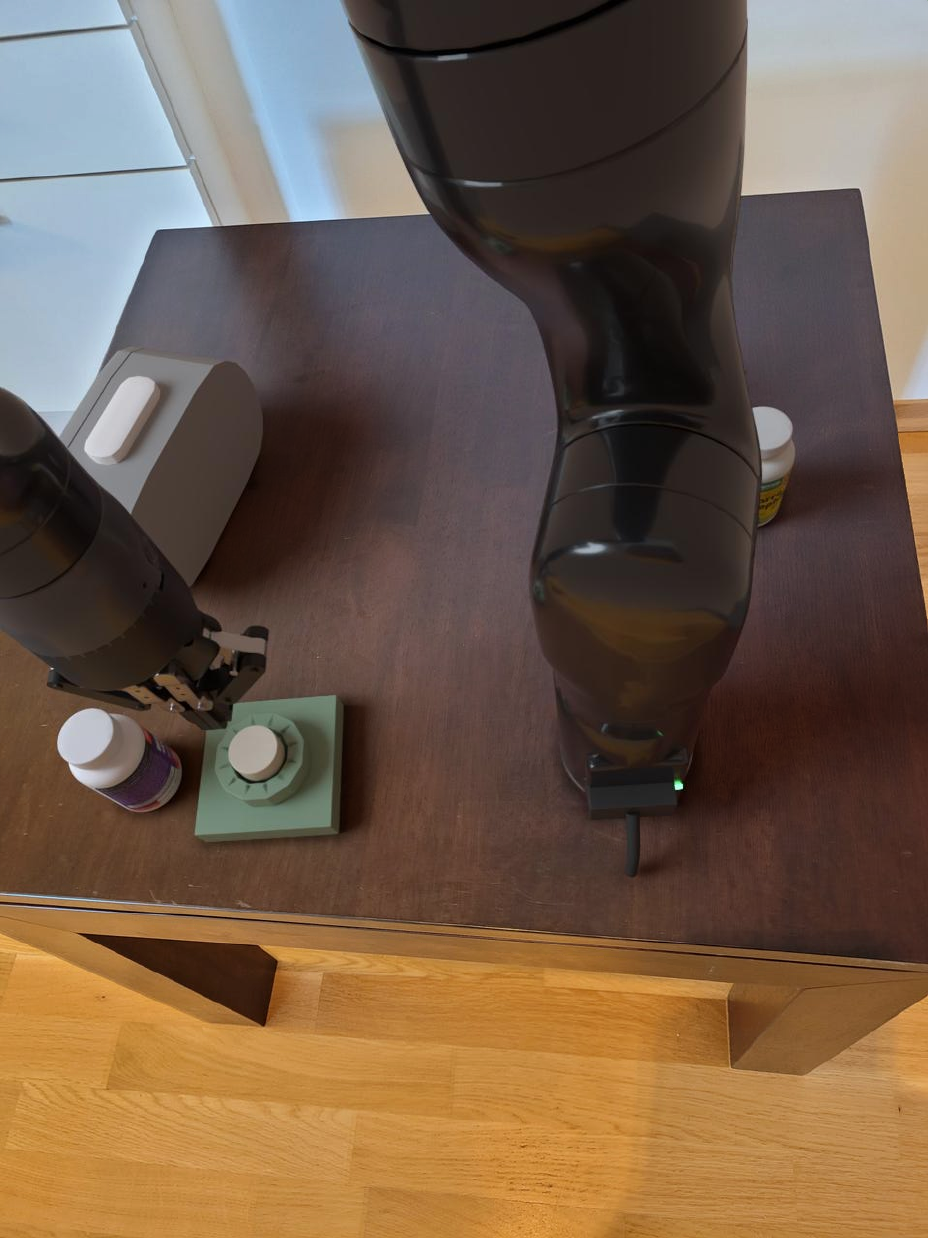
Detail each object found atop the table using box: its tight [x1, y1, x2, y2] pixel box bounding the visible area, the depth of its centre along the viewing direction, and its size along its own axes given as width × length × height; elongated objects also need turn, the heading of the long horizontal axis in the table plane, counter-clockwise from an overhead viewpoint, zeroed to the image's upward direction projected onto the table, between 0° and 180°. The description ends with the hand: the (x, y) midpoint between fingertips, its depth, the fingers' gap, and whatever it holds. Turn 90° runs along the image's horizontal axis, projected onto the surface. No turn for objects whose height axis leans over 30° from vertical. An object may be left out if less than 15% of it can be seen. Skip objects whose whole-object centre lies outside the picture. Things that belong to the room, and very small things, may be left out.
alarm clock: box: [58, 345, 264, 588], centre depth 72 cm, size 21×10×13 cm, turn 162°
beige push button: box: [228, 725, 285, 781], centre depth 62 cm, size 4×4×2 cm
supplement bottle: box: [752, 406, 796, 528], centre depth 67 cm, size 5×5×10 cm
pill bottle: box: [56, 707, 183, 813], centre depth 63 cm, size 5×5×10 cm
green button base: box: [194, 694, 345, 843], centre depth 64 cm, size 10×10×4 cm
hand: (217, 715), depth 56 cm, fingers closed
